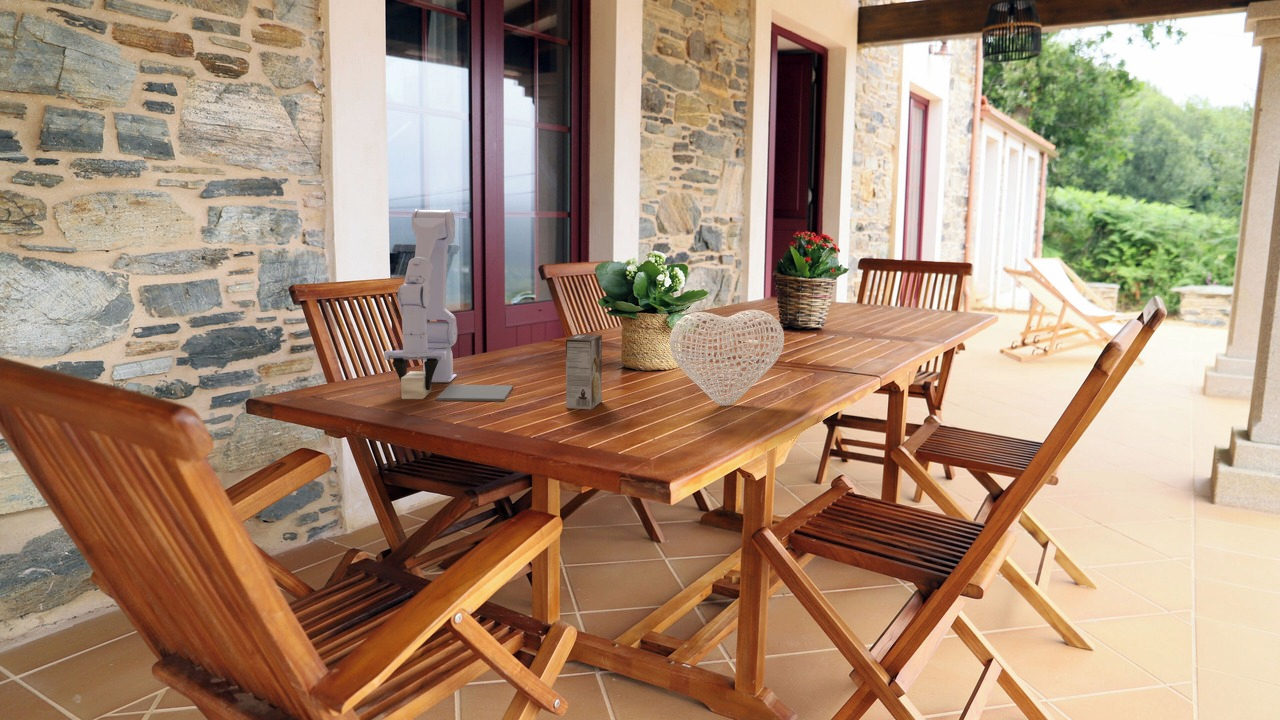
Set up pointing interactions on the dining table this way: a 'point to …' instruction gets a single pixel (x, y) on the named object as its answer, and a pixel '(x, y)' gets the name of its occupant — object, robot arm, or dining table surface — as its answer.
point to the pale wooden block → (414, 385)
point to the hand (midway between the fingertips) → (416, 389)
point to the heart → (727, 320)
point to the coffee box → (583, 371)
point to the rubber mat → (475, 393)
